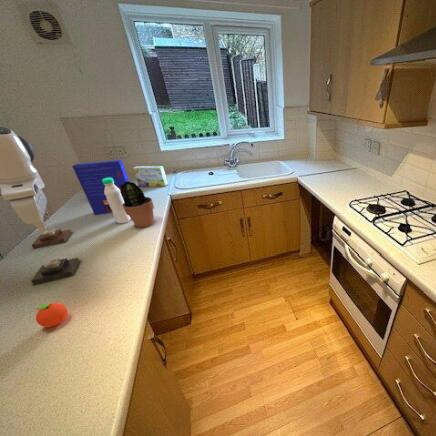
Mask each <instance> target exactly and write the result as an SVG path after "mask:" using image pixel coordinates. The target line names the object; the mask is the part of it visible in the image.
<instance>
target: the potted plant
mask: <svg viewBox="0 0 436 436" xmlns="http://www.w3.org/2000/svg"><path fill="white" fill-rule="evenodd" d="M121 195H122V197H123V200H124V203H123V208H124V210H125V212H126V214H127V215H129V216H130V218H131V219H130V220H131V221H132V222H133V224H134V225H135V227H136V228H146V227H149V226H152V225H153V224H154V223H155V220H154V219H155V218H154V216H155V215H154V208H155V206H154V202H153V198H152V197H149V196H145V193H144V191H143V189H142V188H140V186H139V185H138V184H136V182H133V181H132V182H131V181H129V182H128V181H127V182H125V183H124V184H123V185H121Z"/></svg>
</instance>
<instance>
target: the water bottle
mask: <svg viewBox="0 0 436 436" xmlns="http://www.w3.org/2000/svg"><path fill="white" fill-rule="evenodd" d="M102 182H103V184H104V185H105V190H104V194H105V195H106V198H107V201H108V203H109V205H110V208H111V210H112V212H111V213H112V215H113V217H114V220H115V222H116V223H117V224H125V223H127V222H130V220H132V219H131V218H130V216H129V215H127V214H126V212H125V210H124V208H123V203H124V200H123V197H122V195H121V193H120V189H119V188H118V187H117V186H116V185H114V180H113V178H104V179H102Z"/></svg>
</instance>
